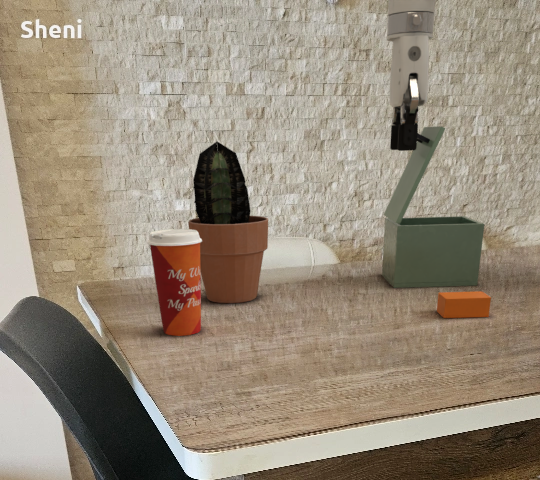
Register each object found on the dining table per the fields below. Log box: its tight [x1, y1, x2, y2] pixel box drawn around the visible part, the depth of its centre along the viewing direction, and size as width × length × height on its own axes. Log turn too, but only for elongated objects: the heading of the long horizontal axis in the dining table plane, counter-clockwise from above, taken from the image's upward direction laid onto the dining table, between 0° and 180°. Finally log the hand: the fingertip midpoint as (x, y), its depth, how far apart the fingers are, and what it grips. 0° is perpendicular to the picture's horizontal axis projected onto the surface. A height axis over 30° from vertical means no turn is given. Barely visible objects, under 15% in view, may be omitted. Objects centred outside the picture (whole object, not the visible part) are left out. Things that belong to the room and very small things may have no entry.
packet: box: [436, 290, 492, 319], centre depth 104 cm, size 7×4×3 cm, turn 91°
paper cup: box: [146, 228, 202, 337], centre depth 96 cm, size 8×8×14 cm
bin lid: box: [383, 126, 446, 224], centre depth 120 cm, size 16×13×5 cm
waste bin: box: [381, 215, 486, 289], centre depth 126 cm, size 16×13×11 cm
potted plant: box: [187, 141, 269, 304], centre depth 113 cm, size 14×14×25 cm
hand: (402, 149), depth 118 cm, fingers closed on bin lid, 6 cm apart
